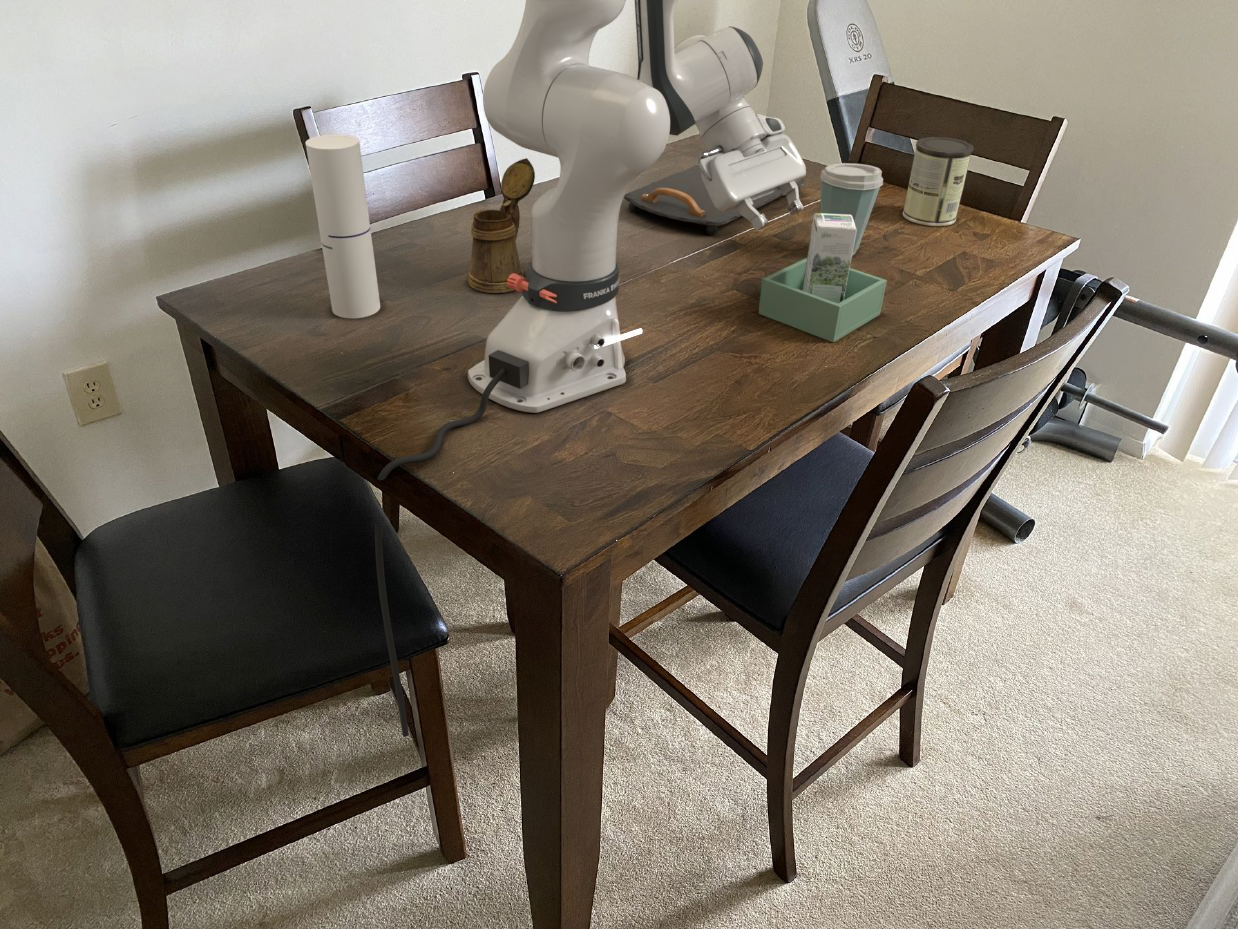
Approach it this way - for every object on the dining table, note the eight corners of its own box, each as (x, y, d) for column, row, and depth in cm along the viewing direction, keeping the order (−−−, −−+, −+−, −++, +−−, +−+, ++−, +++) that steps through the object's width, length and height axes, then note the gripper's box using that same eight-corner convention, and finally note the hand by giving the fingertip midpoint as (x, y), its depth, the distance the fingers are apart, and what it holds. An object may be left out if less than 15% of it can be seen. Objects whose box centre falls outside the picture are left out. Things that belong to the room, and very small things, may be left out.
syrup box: (836, 302, 148) (852, 212, 139) (841, 318, 143) (857, 226, 134) (800, 300, 148) (813, 210, 140) (803, 316, 143) (817, 224, 135)
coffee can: (911, 204, 189) (926, 133, 181) (962, 215, 184) (980, 142, 176) (894, 219, 182) (909, 145, 174) (947, 230, 177) (964, 155, 169)
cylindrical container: (368, 320, 139) (345, 151, 125) (323, 315, 140) (296, 146, 126) (387, 301, 145) (367, 136, 131) (344, 295, 146) (320, 132, 132)
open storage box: (833, 342, 138) (839, 306, 134) (758, 313, 145) (762, 278, 142) (880, 314, 146) (887, 280, 143) (806, 288, 153) (811, 255, 150)
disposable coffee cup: (796, 248, 168) (808, 164, 159) (834, 235, 174) (847, 153, 165) (843, 267, 161) (859, 180, 153) (881, 252, 167) (898, 168, 159)
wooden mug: (551, 271, 156) (550, 163, 146) (499, 298, 147) (494, 185, 137) (510, 258, 160) (506, 152, 150) (457, 284, 151) (448, 173, 141)
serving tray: (711, 243, 168) (714, 210, 165) (610, 213, 180) (611, 181, 176) (813, 191, 194) (818, 161, 190) (720, 167, 205) (722, 138, 202)
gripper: (706, 142, 134) (753, 226, 135) (787, 117, 147) (830, 194, 147) (680, 166, 139) (726, 247, 140) (761, 140, 152) (803, 214, 152)
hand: (780, 219), depth 143 cm, fingers open, 8 cm apart
